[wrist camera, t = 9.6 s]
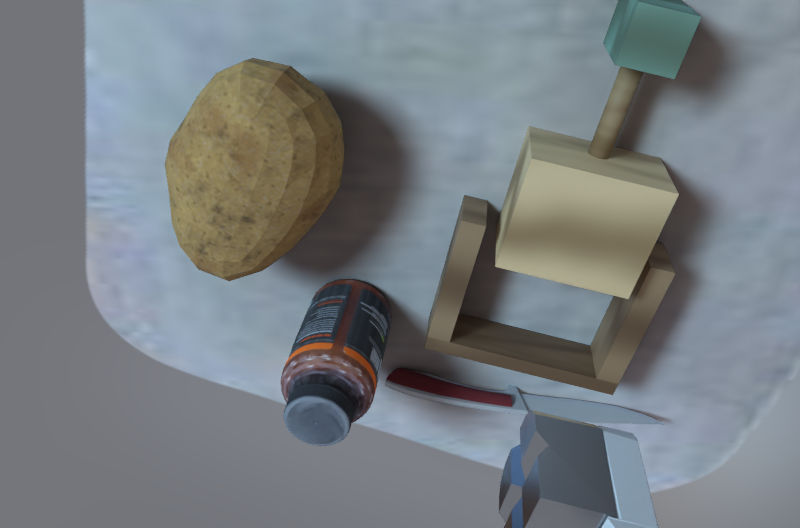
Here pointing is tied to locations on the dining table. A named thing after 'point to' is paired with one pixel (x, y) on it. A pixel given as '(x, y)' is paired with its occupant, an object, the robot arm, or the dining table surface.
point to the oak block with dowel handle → (598, 172)
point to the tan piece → (535, 350)
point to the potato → (252, 167)
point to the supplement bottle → (335, 361)
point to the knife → (508, 399)
